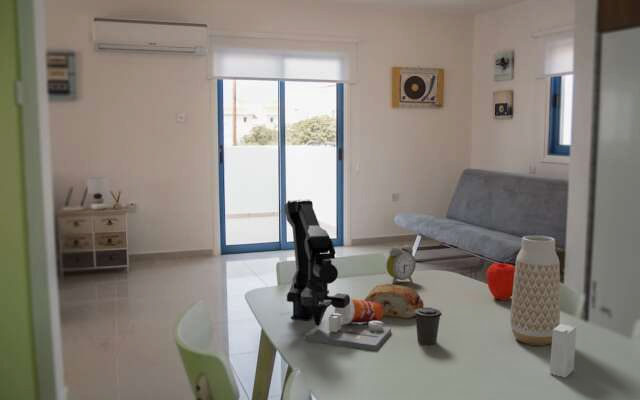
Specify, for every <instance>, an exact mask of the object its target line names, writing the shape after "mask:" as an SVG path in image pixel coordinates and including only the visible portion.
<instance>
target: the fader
mask: <svg viewBox="0 0 640 400" xmlns="http://www.w3.org/2000/svg"><path fill="white" fill-rule="evenodd" d="M328 320H329V331H331V332H337V331H338V330H339V329H341V314H336V313H335V312H333V313H331V314H330V315H329V316H328Z"/></svg>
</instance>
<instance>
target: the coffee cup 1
mask: <svg viewBox="0 0 640 400" xmlns="http://www.w3.org/2000/svg"><path fill="white" fill-rule="evenodd" d="M334 313H336V314H341V323H343V324H348V323H356V324H363V323H369V322H370V321H381V320H382V319H383V318H384V316H383V308H382V306H381V305H380V304H379V303H374V302H368V301H364V300H361V299H354V298H350V303H349V304H348V305H347V306H346V307H345V308H337V307H334Z"/></svg>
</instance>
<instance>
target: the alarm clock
mask: <svg viewBox="0 0 640 400" xmlns="http://www.w3.org/2000/svg"><path fill="white" fill-rule="evenodd" d="M413 252H414V249H413V247H412V246H411V245H410V244H405V245H403V246H401V248H400V247H399V246H392V247H391V248H390V249H389V255H388V257H387V260H386V272H387V273H388V275H389V276H390V277H392V285H396V282H397V280H400V281H405V280H409V281H410V282H413V278H412V275H413V274H414V272H415V270H416V258H415V256H414V255H413Z"/></svg>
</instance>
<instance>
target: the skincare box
mask: <svg viewBox="0 0 640 400" xmlns="http://www.w3.org/2000/svg"><path fill="white" fill-rule="evenodd" d="M576 339H577V326H574V325H573V326H572V325H569V324H563V323H560V324H559V326H557V327H556V328H555V329H553V335H552V342H551V347H550V348H551V349H550V350H551V351H550V361H549V362H550V363H549V364H550V366H549V374H550V375H552V374H553V376H556V375H557V376H556V377H559V376H561V377H560V378H564V379H565V378H566V379H567V377H568V376H569V375H570V374H571V373H572V372H573V371H574V369H575V368H574V366H575V355H576V354H575V353H576V352H575V351H576Z"/></svg>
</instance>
